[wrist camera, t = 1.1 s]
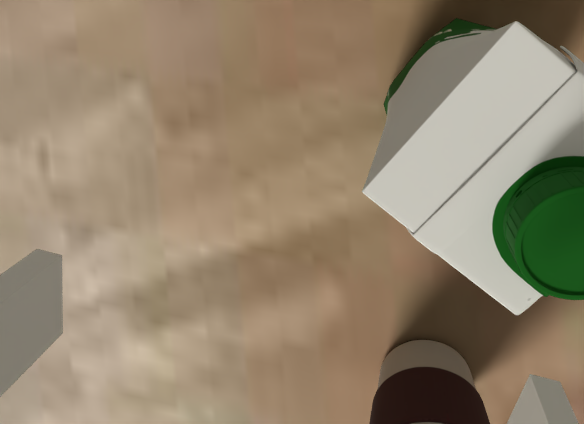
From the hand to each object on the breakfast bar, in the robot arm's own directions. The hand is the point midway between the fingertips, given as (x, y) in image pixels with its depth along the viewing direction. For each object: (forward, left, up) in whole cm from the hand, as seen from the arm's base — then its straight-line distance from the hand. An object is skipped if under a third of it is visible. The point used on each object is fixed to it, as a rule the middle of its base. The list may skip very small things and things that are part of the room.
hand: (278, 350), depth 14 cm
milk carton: (+4, +7, -25) cm, 26 cm away
